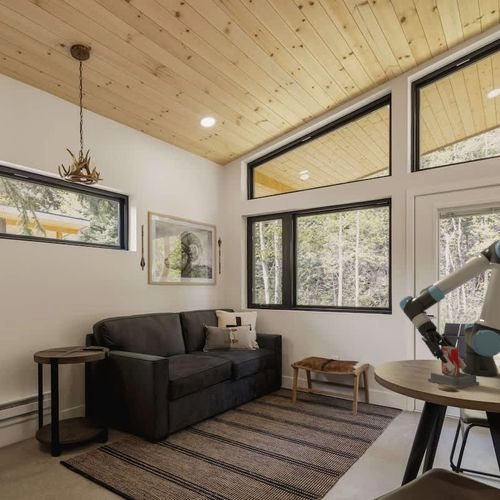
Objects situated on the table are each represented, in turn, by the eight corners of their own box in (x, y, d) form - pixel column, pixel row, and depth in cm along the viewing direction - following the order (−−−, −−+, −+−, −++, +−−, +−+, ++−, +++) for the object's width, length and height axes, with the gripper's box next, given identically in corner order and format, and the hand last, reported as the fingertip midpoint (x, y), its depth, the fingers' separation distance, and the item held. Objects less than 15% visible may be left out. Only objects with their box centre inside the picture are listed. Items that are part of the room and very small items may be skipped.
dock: (448, 377, 180) (448, 369, 180) (479, 385, 167) (479, 376, 168) (428, 381, 173) (427, 372, 173) (458, 389, 161) (458, 379, 161)
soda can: (460, 378, 167) (459, 349, 167) (441, 376, 170) (441, 347, 170) (459, 374, 173) (458, 346, 174) (441, 372, 176) (440, 345, 177)
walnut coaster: (445, 386, 165) (445, 383, 165) (461, 390, 159) (461, 387, 159) (434, 388, 162) (434, 385, 162) (449, 392, 156) (449, 389, 156)
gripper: (433, 329, 191) (466, 371, 175) (404, 331, 181) (437, 376, 166) (443, 319, 186) (478, 361, 171) (414, 321, 177) (448, 365, 162)
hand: (458, 368), depth 168 cm, fingers closed on soda can, 7 cm apart
